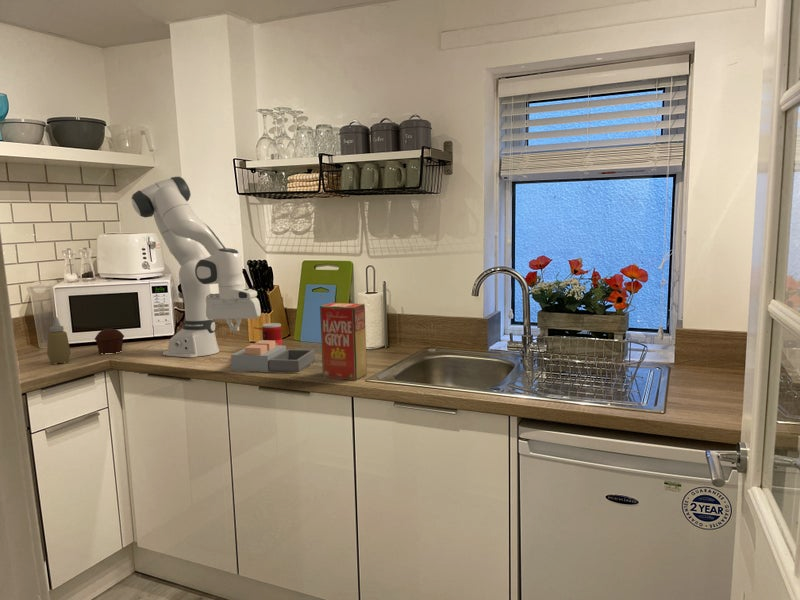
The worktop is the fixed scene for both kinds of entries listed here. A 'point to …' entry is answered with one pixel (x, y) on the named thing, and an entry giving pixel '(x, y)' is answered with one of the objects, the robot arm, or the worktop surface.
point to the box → (291, 360)
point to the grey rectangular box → (254, 360)
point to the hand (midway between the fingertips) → (234, 330)
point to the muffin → (109, 341)
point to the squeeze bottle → (58, 344)
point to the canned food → (272, 332)
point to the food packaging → (343, 341)
